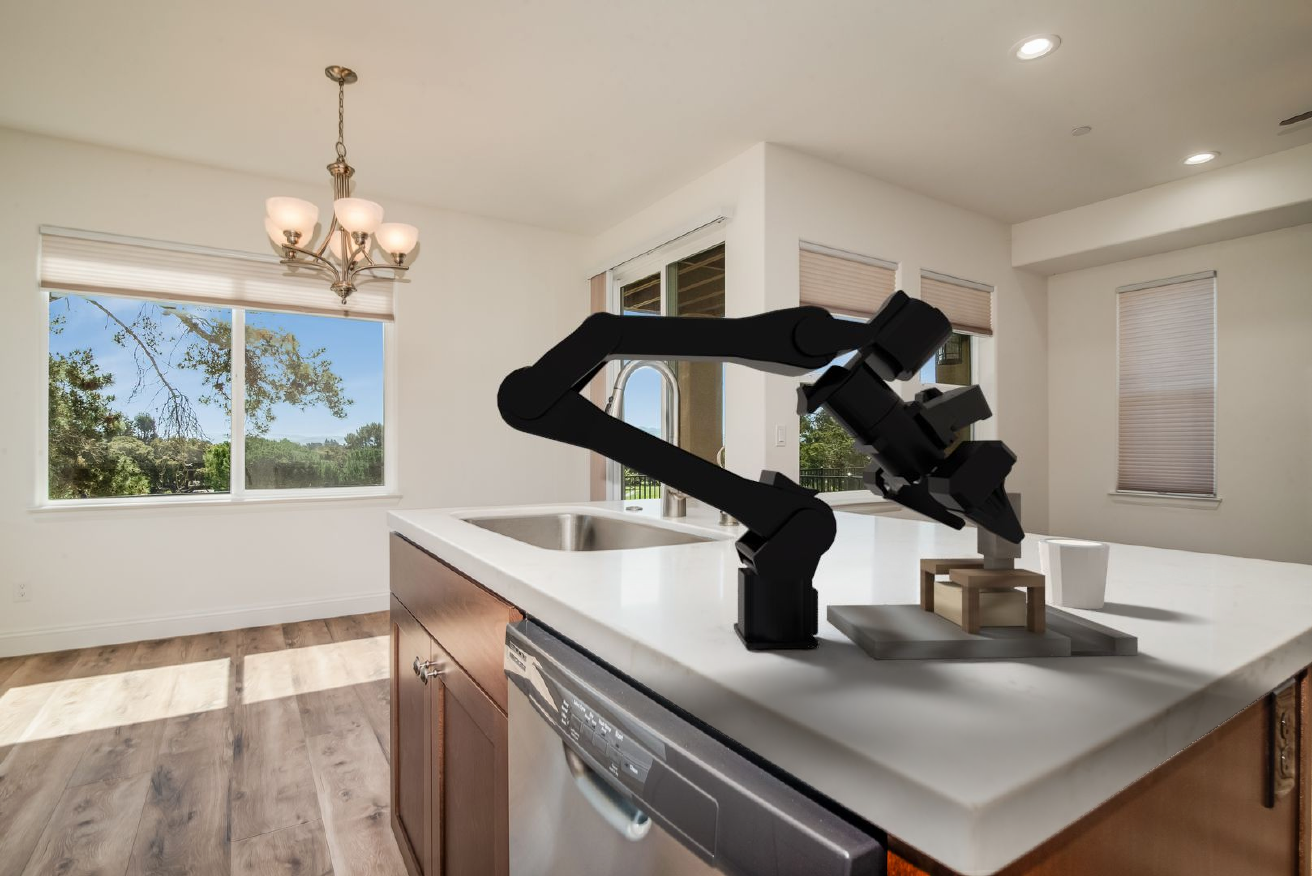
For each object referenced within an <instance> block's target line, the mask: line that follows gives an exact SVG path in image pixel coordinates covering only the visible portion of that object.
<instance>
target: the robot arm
mask: <svg viewBox="0 0 1312 876" xmlns="http://www.w3.org/2000/svg"><path fill="white" fill-rule="evenodd" d="M953 332H954V331H953V326H952V324H951V322H950V321H949V318H948V317H947V316H946V314H944V312H942V310H940V309H939V308H938V307H933V306H932V305H931V304H929V303H927V302H926V301H924V300H923V299H920V298H915V297H910V295H908V294H907V293H906V292H905V291H904V290H903V289H898V290H897V291H895V292H893V293H891V294H890V295H889V296H888V297H887V298H886V299H885V300H883V302H882V304H881V305H880V307H879V308H878V310H877V311H876V312H875V313H874V314H873V315H872V316H871V317H870V318H869V319H868V320H867V321H866V322H861V321H860V322H859V321H854V320H847V319H841V318H835V317H834V316H833V315H832V314H831V313H830V311H829V310H828V309H826V308H824V307H823V306H819V305H812V304H811V305H803V306H802V305H801V306H794V307H788V308H781V309H773V310H772V311H771V310H770V311H767V312H766V311H765V312H762V313H758V314H754V315H750V316H742V317H736V318H735V317H734V318H733V317H708V316H707V317H706V316H672V315H668V316H667V315H637V314H635V315H633V314H631V315H630V314H614V313H610V312H607V311H599V312H598V311H597V312H594V313H591V314H590V315H588V316H586V318H585V319H584V320H583V321H582V322H581V324H580V325H579V326H578V327H577V328H576V329H575V330H574V331H573V332H571V333H570V334H568V335H567V336H566V337H564V338H563V339H562V340H561V341H559V342H557V344H555V345H554V346H553V347H552V348H549V350H547V352H544V354H543V355H542V356H541V357H540V358H539V359H537V361H536V362H535V363H534V364H533V365H525V366H523V367H520V368H517V369H514V370H513V371H511V372H510V373H509V374H508V375H506V376H505V377H504V378H503V380H502V382H501V383H500V385H499V388H498V391H497V394H496V403H497V404H496V405H497V406H496V407H497V409H498V411H499V414H500V417H501V419H502V420H503V421H504V423H506V425H508V426H509V427H510V428H512V429H513V430H516V431H519V432H521V433H526V434H529V435H533V436H536V437H540V438H544V439H547V440H550V441H551V440H552V441H556V442H558V443H563V444H567V445H571V446H575V447H578V448H583V449H586V450H590V451H593V452H595V453H597V454H599V455H601V456H603V457H606V458H607V459H609V460H612V461H614V462H616V463H618V464H620V465H623V466H624V467H627V468H629V469H631V470H634V471H635V472H637V473H639V474H642V475H644V476H645V477H648V478H651V479H653V480H654V481H657V482H659V483H661V484H663V485H665V486H668V487H670V488H672V489H674V490H676V491H678V492H681V493H682V494H685V495H687V496H689V497H691V498H693V499H696V500H698V501H700V502H702V503H704V504H706V505H709V506H710V507H713V508H715V509H716V510H717V509H718V510H720V511H721V512H724V513H725V514H727V515H728V516H730V517H731V518H732V519H734V520H735V521H736V522H738V523H739V524H741V525H742V526H743V527H745V528H746V529H747V530H746V531H745V532H744V533H743V534H742V535H741V536H739V538H738V539H737V540H736V541H735V542H734V546H735V550H736V552H737V556H738V558H739V561H740V563H742V565H743V564H744V565H745V566H747V567H737V622H734V623H733V630H734V632H735V633H736V634H737V636H738V638H739V639H740V640H741V643H743V645H744V646H745V648H748V649H787V648H788V649H789V648H790V649H793V648H794V649H796V648H797V649H798V648H799V649H800V648H805V649H806V648H818V647H819V646H820V641H819V640H818V639H817V638H816V637H815V636H817V635H818V633H819V591H818V589H816V588H815V586H813V580H814V577H815V575H816V571H817V569H818V565H819V563H820V561H821V558H822V556H823V555H824V554H825V553H827V552H828V551H829V550H830V549H831V547H832V545H833V544H834V542H835V540H836V536H837V533H838V525H837V523H838V522H837V519H836V517H835V513H834V510H833V508H832V507H831V506H830V504H829V503H827V502H825V501H824V500H822V498H819V497H816V496H817V495H819V493H820V492H821V491H820V489H819V488H814V487H813V488H812V487H808V486H804V485H800V484H798V483H797V482H795V481H794V480H793V479H791V478H789V477H788V476H787V475H785V474H784V473H782V472H781V471H775V470H769V469H762V470H761V472H760V475H759V476H760V477H759V480H757V481H756V480H753V479H750V478H746V477H743V476H742V475H739V474H737V473H735V472H732V471H731V470H729V469H726V468H724V467H722V466H719V465H718V464H715V463H713V462H711V461H708V459H707V460H706V459H705V458H703V457H700V456H699V455H696V454H694V453H692V452H689V451H688V450H686V449H683V448H681V447H680V446H677V445H676V444H675V445H674V443H671V442H669V441H666V440H664V439H663V438H660V437H659V436H655V435H654V434H651V433H649V432H647V431H646V430H643V429H641V428H638V427H637V426H634V425H632V424H630V423H628V422H626V421H624V420H621V419H619V418H617V417H615V416H613V415H610V414H608V413H607V412H606V411H604V410H603V409H601V407H599V406H598V405H596V404H595V403H593V401H590V400H589V399H588V398H587V397H586V396H584V395H582V394H581V392H583V390H584V389H585V388H586V387H587V386H588V385H589V384H590V382H591V381H592V380H593V379H594V378H595V377H596V376H597V375H598V374H599V373H600V372H601V371H602V369H603V368H605V367H606V365H608V364H609V362H611V361H645V362H646V361H652V362H653V361H655V362H689V363H690V362H691V363H693V362H694V363H695V362H696V363H731V364H736V365H740V366H744V367H747V368H750V369H754V370H757V371H760V372H765V373H769V374H775V375H779V376H784V377H789V378H795V377H801V376H805V375H807V374H810V373H813V372H815V371H818V370H819V369H822V368H825V367H827V366H828V365H830V364H831V362H833V361H834V360H835V359H837V358H839V357H842V356H844V355H847V354H849V353H852V352H853V351H857V352H855V354H854V355H853V356H852V357H851V358H850V359H849V360H848V361H847V362H846V363H845V364H844V365H843V366H842V365H839V364H833V365H830V366H829V367H828V368H827V369H826V370H825V371H824V372H823V373H822V374H821V375H820V376H819V378H817V380H816V381H815V382H813V383H812V385H808V384H803V385H801V386H798V387H797V388H796V389H795V391H796V394H797V403H796V410H795V411H796V412H795V413H796V414H797V415H798V416H800V417H802V416H807V415H812V414H814V413H815V412H816V411H817V410H818V409H819V408H820V407H821V408H822V409H823V411H825V412H826V414H827V415H829V416H830V418H831V419H833V421H834V422H835V423H837V424H838V426H839V427H841V429H842V430H844V432H845V433H846V434H847V435H848V436H849V437H850V438H851V439H852V440H853V443H852V444H851V448H853V449H854V450H855V452H857V453H858V454H867V456H869V458H871V459H872V461H871V462H870V463H869V464H868V465H867V466H866V467H864V469H863V470H862V484H863V485H864V486H865V487H866V488H867V489H868V491H870V492H871V493H872V494H873V495H874V496H877V497H878V496H879V497H881V498H882V499H883V500H885V501H889V502H891V503H893V504H896V505H898V506H900V507H902V508H905V509H907V510H909V511H911V512H914V513H916V514H919V515H921V516H924V517H926V518H928V519H931V520H933V521H935V522H937V523H940V524H942V525H944V526H946V527H949V528H951V529H953V530H956V531H962V529H963V528H964V527H965V526H966V524H967V523H966V522H969V523H971V524H973V525H975V526H976V527H977V526H979V527H981V528H983V529H985V530H987V531H989V532H991V533H993V534H995V535H997V536H999V537H1001V538H1003V539H1005V540H1007V541H1009V542H1012V543H1014V544H1019V543H1020V542H1021V543H1022V541H1023V540H1024V539H1025V538H1026V535H1025V534H1026V533H1025V531H1024V530H1023V527H1022V524H1021V525H1020V523H1019V521H1018V519H1017V517H1016V514H1015V512H1014V510H1013V508H1012V506H1011V504H1010V501H1009V499H1008V496H1007V494H1006V492H1007V491H1006V489H1005V483H1006V482H1005V481H1006V478H1007V477H1008V476H1009V474H1011V472H1012V471H1013V466H1015V464H1016V463H1017V461H1018V456H1017V455H1016V453H1015V452H1014V451H1013V450H1012V449H1011V448H1010V447H1008V445H1007V444H1006V443H1005V442H1004V441H1003V439H1002V440H1000V439H998V440H997V439H985V440H983V439H981V440H977V439H975V440H962V441H961V442H960V444H958V445H957V446H956V448H954V449H953V450H952V452H951V453H950V454H947V453H946V451H945V450H946V449H947V448H951V447H952V446H953V445H954V444H955V443H956V442H957V441H958V440H959V436H958V435H957V434H956V433H955V432H958V431H960V430H962V429H964V428H966V427H969V426H971V425H972V424H974V423H977V422H979V421H987V420H989V419H990V418H992V417H993V414H994V413H993V411H992V409H991V408H990V406H989V403H988V401H987V399H986V396H985V395H984V393H983V390H982V388H981V386H980V384H978V383H977V384H971V385H966V386H961V387H955V388H954V389H950V390H946V391H944V393H943V392H942V390H940V389H939V388H937V387H935V386H934V387H929V388H925V389H922V390H921V391H919V392H918V391H917V392H915V394H914V400H910V401H905V400H903V398H902V397H901V396H900V395H899V394H898V393H897V392H896V391H895V390H894V389H893V388H892V387H891V386H890V385H889V384H888V383H887V382H890V383H894V381H896V380H898V381H901V382H910V381H911V380H912V379H913V377H915V376H916V374H918V373H919V372H920V370H921V369H922V368H923V367H924V366H925V365H927V363H928V362H929V361H931V359H932V358H933V357H934V356H935V355H936V354H937V353H938V352H939V351H940V350H941V349H942V348H943V347H944V346H945V345H946V343H947V342H948V341H949V340H951V339H952V337H953V335H954V333H953Z"/></svg>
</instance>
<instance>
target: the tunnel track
mask: <svg viewBox="0 0 1312 876" xmlns="http://www.w3.org/2000/svg"><path fill="white" fill-rule="evenodd" d="M919 573H920V576H919V581H920V582H919V583H920V584H919V586H920V589H919V591H920V592H919V598H920V599H919V604H918V603H917V604H910V603H909V604H848V605H847V604H842V605H841V604H840V605H834V604H833V605H831V604H829V605H826V621H827V622H828V623H829V624H831V625H832V626H833V627H834V628H835V629H837V630H838V631H840V632H841V633H842V634H843V635H845V637H847V638H849V639H850V640H851V641H852V642H853V643H854V644H855V645H857V646H858V647H859V648H860V649H861V650H863V651H864V652H866V653H867V654H868V655H869V656H871V657H872V658H873V659H874V660H919V659H920V660H923V659H925V660H927V659H931V660H932V659H975V658H977V659H979V658H980V659H981V658H984V659H985V658H987V659H988V658H1032V657H1033V658H1039V657H1041V658H1043V657H1088V656H1089V657H1090V656H1091V657H1093V656H1094V657H1096V656H1098V657H1099V656H1101V657H1102V656H1103V657H1104V656H1105V657H1106V656H1138V655H1139V652H1138V651H1139V649H1138V648H1139V646H1138V645H1139V644H1138V641H1139V640H1138V639H1139V637H1137V636H1135V635H1132V634H1129V633H1127V632H1123V631H1121V630H1118V629H1116V628H1112V627H1110V626H1108V625H1105V624H1101V623H1099V622H1096V621H1094V620H1091V619H1088V618H1085V617H1082V616H1079V615H1077V614H1074V613H1071V612H1068V611H1066V610H1063V609H1059V608H1057V607H1055V606H1052V605H1049V604H1046V600H1045V575H1042V573H1038V572H1035V571H1032V570H1028V569H1026V568H1014V569H984V557H982V558H981V557H978V558H977V557H974V558H971V557H970V558H966V557H965V558H920V559H919ZM947 575H948V576H949V578H948V579H949V580H948V581H953V582H955V583H958V584H960V585H962V626H960V625H958V624H956V623H954V622H952V621H950V620H948V619H946V618H945V617H943V616H941V615H939V614H937V613H935V612H934V581H936V576H947ZM979 587H1015V588H1026V598H1027V626H979Z"/></svg>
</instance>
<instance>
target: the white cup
mask: <svg viewBox="0 0 1312 876" xmlns="http://www.w3.org/2000/svg"><path fill="white" fill-rule="evenodd" d="M1037 542H1038V551H1039V561H1040V570H1041V574H1042V575H1045V602H1046V601H1047V602H1046V603H1049V604H1052V605H1055V606H1059V605H1060V607H1064V608H1072V609H1082V610H1097V609H1102V608H1103V607H1105V606H1104V604H1105V595H1106V584H1107V576H1108V567H1109V557H1110V547H1111V545H1109V544H1107V543H1104V542H1099V541H1094V540H1086V539H1076V538H1059V537H1057V538H1044V539H1042V538H1041V539H1038V540H1037Z"/></svg>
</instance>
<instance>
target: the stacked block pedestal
mask: <svg viewBox="0 0 1312 876" xmlns="http://www.w3.org/2000/svg"><path fill="white" fill-rule="evenodd" d="M1006 494H1007V496H1008V499H1009V501H1010V504H1011V506H1012V508H1013V510H1014V512H1015V514H1016V517H1017V519H1018V521H1019V523H1020V525H1021V526H1022V493H1021V492H1014V491H1006ZM976 527H977V529H976V531H977V533H976V534H977V535H976V538H977V540H976V542H977V543H976V544H977V547H976V549H977V550H976V551H977V552H976V553H977V554H980V555H983V558H984V569H1015V559H1022V541H1021V542H1020V543H1019V544H1014V543H1012V542H1009V541H1007V540H1005V539H1003V538H1001V537H999V536H997V535H995V534H993V533H991V532H989V531H987V530H985V529H983V528H981V527H979V526H977V525H976ZM934 612H935V613H937V614H939V615H941V616H943V617H945V618H946V619H948V620H950V621H952V622H954V623H956V624H958V625H960V626H962V585H960V584H958V583H955V582H953V581H950V580H948V581H947V580H945V581H943V580H942V581H940V580H939V581H936V580H935V581H934ZM979 626H1027V591H1023V590H1021V589H1018V588H1016V587H979Z"/></svg>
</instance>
